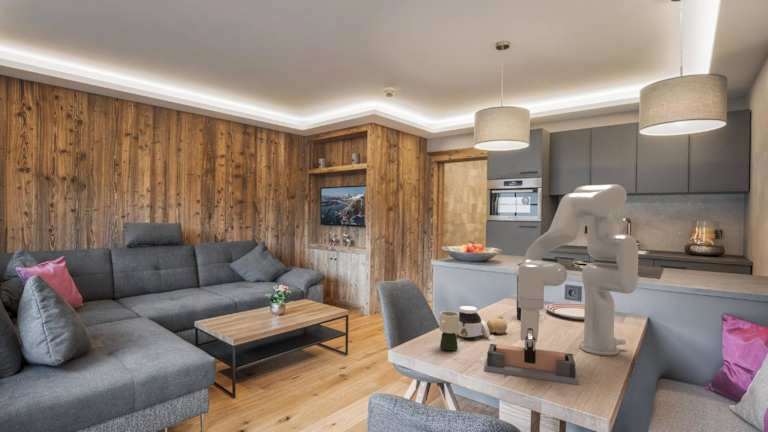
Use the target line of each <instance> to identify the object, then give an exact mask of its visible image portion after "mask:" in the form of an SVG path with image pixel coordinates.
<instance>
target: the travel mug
mask: <svg viewBox="0 0 768 432" xmlns="http://www.w3.org/2000/svg"><path fill="white" fill-rule="evenodd" d="M516 276H517V277H516V278H517V279H516V319H517V320H518V321H521V308H519V307H518V277H519V274H518V275H516Z"/></svg>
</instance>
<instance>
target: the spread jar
mask: <svg viewBox="0 0 768 432" xmlns="http://www.w3.org/2000/svg"><path fill="white" fill-rule="evenodd" d="M458 313H459V332H457V333H456V336H457V338H459V339H462V340H466V341H474V340H477V339H478V338H479V337H480V336H481V335H482V336H483V337H484V338H489V337H490V335H491V332H490V331H489V329H488V326H487V322H485V321H484V319H482V318H481V316H480V315H479V314H478V308H477V307H476V306H473V305H472V306H471V305H462V306H460V307H459V312H458Z"/></svg>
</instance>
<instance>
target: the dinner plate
mask: <svg viewBox="0 0 768 432" xmlns="http://www.w3.org/2000/svg"><path fill="white" fill-rule="evenodd" d="M545 309H546V310H547V312H550V313H552V314H554V315H557V316H559V317H562V318H566V319H569V320H577V321H584V313H585V303H577V302H576V303H575V302H558V303H551V304H547V305H546V306H545Z"/></svg>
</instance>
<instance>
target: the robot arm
mask: <svg viewBox="0 0 768 432" xmlns="http://www.w3.org/2000/svg"><path fill="white" fill-rule="evenodd" d="M627 198H628V194H627V191H626V188H625V187H623V186H622V185H620V184H616V183H615V184H614V183H612V184H611V183H610V184H590V185H589V184H588V185H586V184H585V185H582V186H578V187H576V188H575V189H574V190H573V192H572V193H571V192H570V193H566V194H565V195H563V196H562V198H561V200H560V201H559V204H558V207H557V210H556V212H555V214H554V217H553V219H552V222H551V224H550V227H549V229H548V231H546V232H544V234H543V233H542V234H541V235H540V236H539V237H538V238H537V239H536V240H535V241H534V242H533V243H531V245H530V246H529V247H528V248H527V251H526V253H525V255H524V258H523V260H522V263H520V264H519V265H518V275H519V277H518V307H519V308H521V320H520V341H521V342H524V348H525V349H524V362H525V363H532V364H535V361H536V350H535V349H536V343H537V342H538V337H539V327H540V326H539V325H540V311H543V310H544V306H545V305H544V304H545V302H544V301H545V299H544V298H545V287H558V286H561V285H563V284H564V283H565V282H566V280H567V278H568V272H567V269H566V268H565V266H564V265H563V264H561V263H559V262H555V261H549V260H548V261H547V260H542V259H543V258H544V257H545V255H546V254H548V253H549V252H550V251H552V250H554V249H557V248H560V247H562V246H565V245H569V244H570V243H573V242H574V241H575V240H576V238H577V235H578V233H579V231H580V228H581V225H582V223H583V220H584V219H586V223H587V225H586V227H587V230H586V231H587V233H586V234H587V237H586V239H587V240H586V241H587V243H586V244H587V245H586V246H587V248H586V249H587V254H588V255H589V256H590V257H591V258H594V259H598V260H605V261H614V262H617V264H613V263H606V262H598V261H596V262H588V263H587V264H586V265H584V267H583V269H582V271H581V277H582V282H583V283H582V284H583V288H584V289H583V290H584V304H585V313H584V320H583V322H584V323H583V324H584V325H583V326H584V327H583V329H584V330H583V341H581V342H579V345H578V348H580V349H581V350H582V351H584V352H587V353H589V354H594V355H599V356H615V355H618V354H619V348H618V347H617V346H618V345H620V346H621V345H626V340H625V339H624V338H619V339H618V338H617V337H615V300H614V297H613V296H612V294H611V292H614V293H619V294H624V295H625V294H627V295H628V294H629V295H630V294H631V293H633V292H635V290H636V288H637V286H638V281H639V280H638V279H639V247H638V243H637V241H636V238H635V237H633V236H632V235H630V234H624V233H615V219H614V216H613V215H612V213H614V212H616V211H618V210H620V209H621V208H623V206H624V205H625V204H626V201H627Z"/></svg>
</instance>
